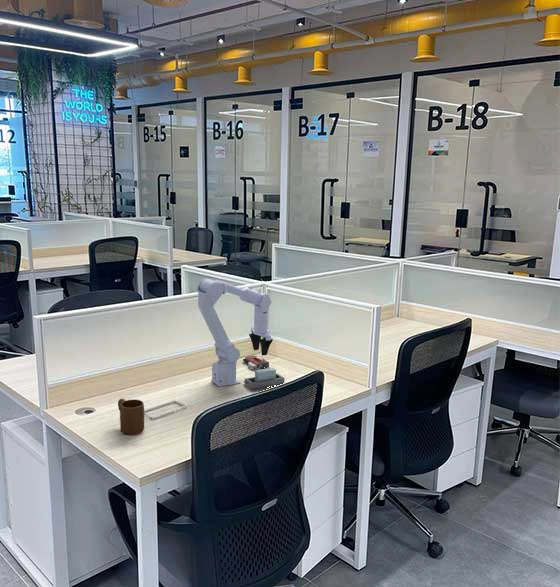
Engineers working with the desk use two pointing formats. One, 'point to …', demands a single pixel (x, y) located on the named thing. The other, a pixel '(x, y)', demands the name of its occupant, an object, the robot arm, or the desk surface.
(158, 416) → the grey rectangular frame
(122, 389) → the desk surface
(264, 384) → the grey rectangular tray
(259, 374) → the blue-grey block
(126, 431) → the mug
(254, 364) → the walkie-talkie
